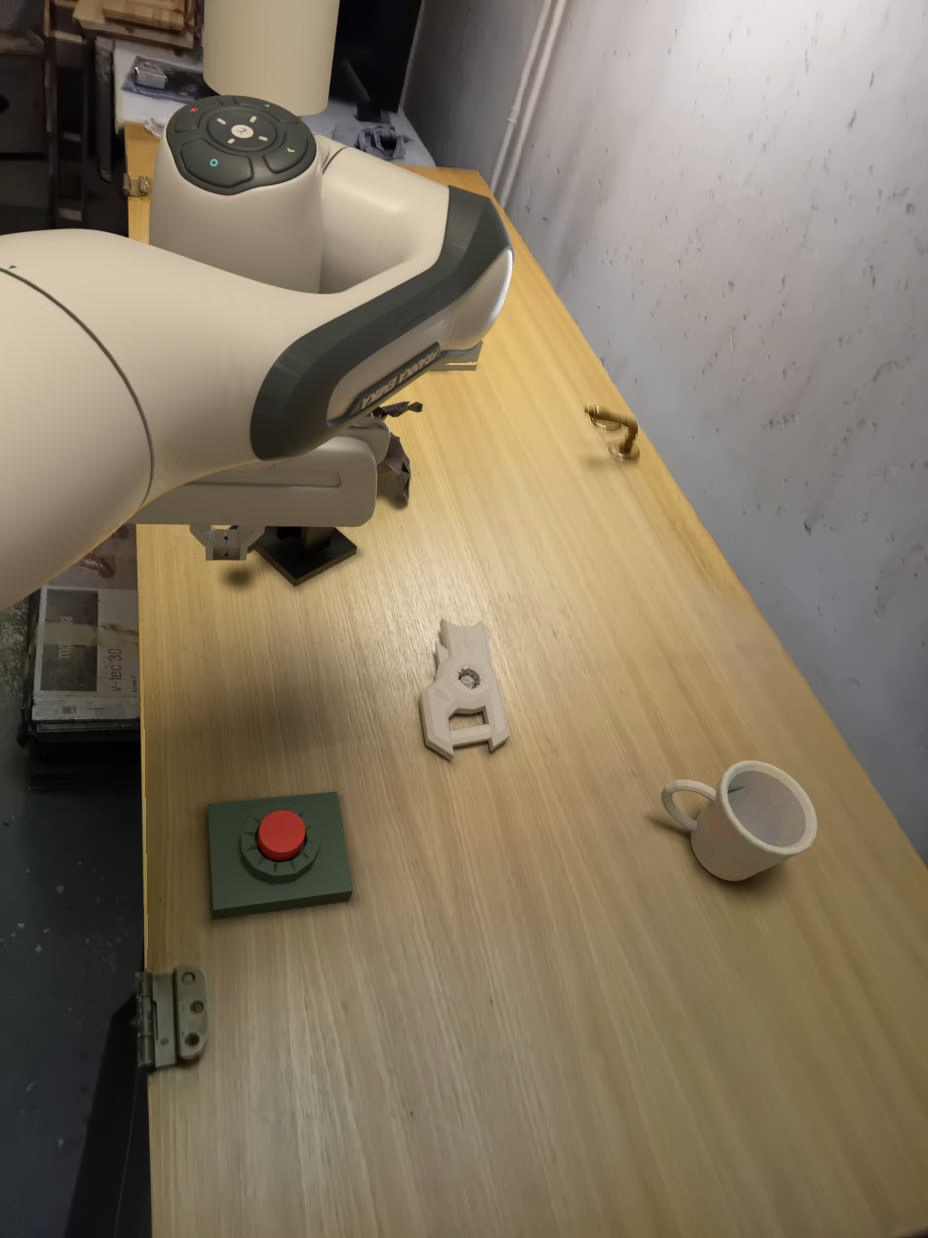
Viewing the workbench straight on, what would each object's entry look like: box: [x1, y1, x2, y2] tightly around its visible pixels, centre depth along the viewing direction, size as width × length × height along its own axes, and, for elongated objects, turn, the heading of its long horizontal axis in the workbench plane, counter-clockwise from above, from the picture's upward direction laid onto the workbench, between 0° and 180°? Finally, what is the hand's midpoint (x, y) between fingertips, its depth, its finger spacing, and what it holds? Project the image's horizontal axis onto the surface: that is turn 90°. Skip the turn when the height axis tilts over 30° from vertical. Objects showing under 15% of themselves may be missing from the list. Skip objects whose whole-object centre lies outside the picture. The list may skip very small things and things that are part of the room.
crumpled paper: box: [371, 400, 424, 500], centre depth 106 cm, size 14×15×20 cm
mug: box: [660, 759, 819, 882], centre depth 85 cm, size 10×15×10 cm
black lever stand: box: [254, 526, 358, 587], centre depth 97 cm, size 10×9×14 cm
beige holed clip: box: [418, 617, 511, 761], centre depth 92 cm, size 18×4×10 cm
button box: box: [206, 790, 354, 920], centre depth 74 cm, size 12×10×4 cm
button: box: [258, 810, 305, 861], centre depth 72 cm, size 4×4×2 cm
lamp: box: [202, 0, 340, 121], centre depth 140 cm, size 21×21×42 cm
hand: (225, 554), depth 61 cm, fingers closed
